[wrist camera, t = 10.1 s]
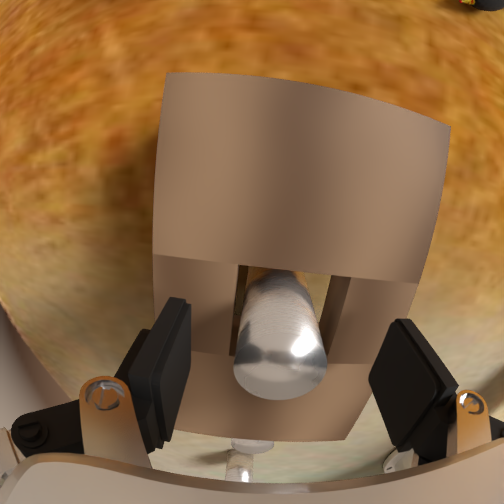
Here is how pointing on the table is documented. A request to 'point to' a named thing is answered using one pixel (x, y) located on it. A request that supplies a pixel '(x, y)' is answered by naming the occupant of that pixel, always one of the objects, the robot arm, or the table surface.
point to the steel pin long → (278, 336)
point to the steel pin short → (239, 466)
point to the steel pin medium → (251, 445)
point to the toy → (485, 4)
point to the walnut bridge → (289, 233)
